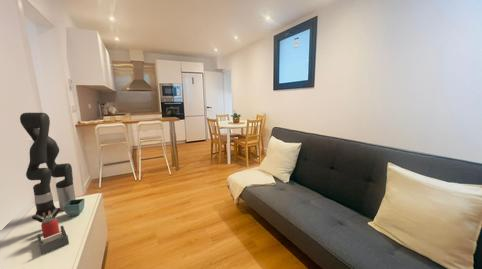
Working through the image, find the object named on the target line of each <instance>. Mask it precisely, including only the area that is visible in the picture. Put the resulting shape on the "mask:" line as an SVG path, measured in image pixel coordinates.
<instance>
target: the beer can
mask: <svg viewBox="0 0 482 269" xmlns="http://www.w3.org/2000/svg"><path fill="white" fill-rule="evenodd" d="M56 217H57V216H56ZM56 217H49V218H47V217H46V219H44V218H43V219H44V220H43V221H42V222H41V230H42V231H41V232H42V237H43V239H44V238H47V237H49V236H52V235H55V234H57V233H60V232H61V230H60V227H59V221H58V219H57V218H56Z"/></svg>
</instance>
